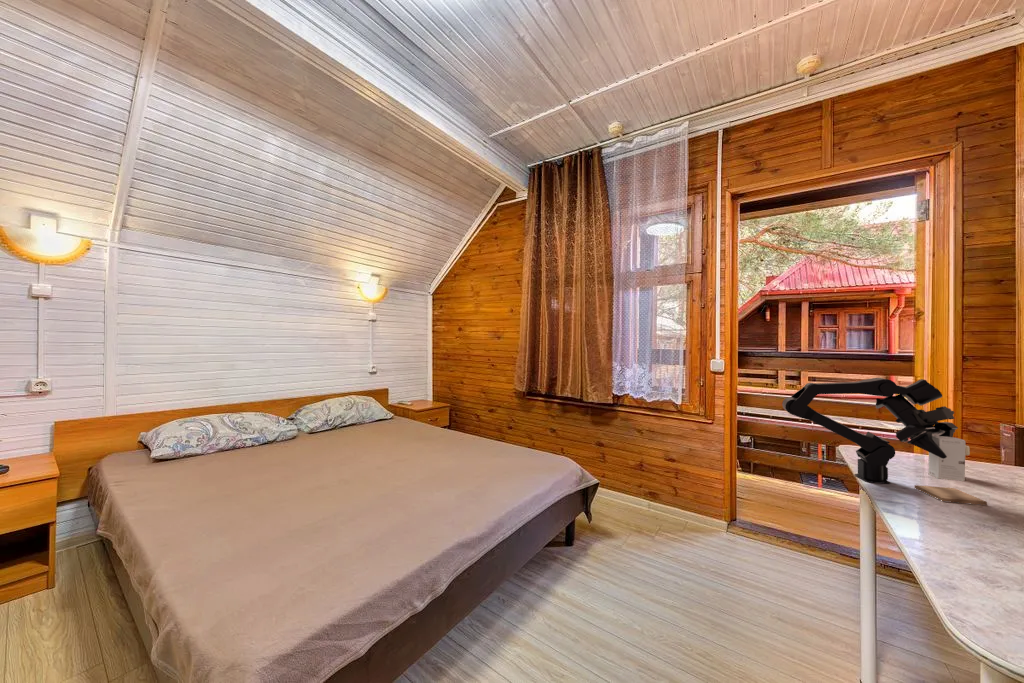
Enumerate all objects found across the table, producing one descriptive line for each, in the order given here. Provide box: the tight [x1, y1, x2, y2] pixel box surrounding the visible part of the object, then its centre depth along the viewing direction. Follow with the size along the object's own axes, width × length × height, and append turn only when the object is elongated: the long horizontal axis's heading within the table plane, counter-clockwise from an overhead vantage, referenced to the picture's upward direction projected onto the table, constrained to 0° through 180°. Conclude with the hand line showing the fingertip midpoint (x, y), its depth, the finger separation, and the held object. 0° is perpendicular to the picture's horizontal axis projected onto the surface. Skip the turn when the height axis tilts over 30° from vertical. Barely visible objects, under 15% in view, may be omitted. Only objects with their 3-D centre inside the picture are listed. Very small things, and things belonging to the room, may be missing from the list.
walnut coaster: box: [914, 484, 988, 506], centre depth 111 cm, size 10×10×1 cm
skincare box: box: [928, 435, 967, 482], centre depth 110 cm, size 6×4×12 cm
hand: (953, 456), depth 109 cm, fingers closed on skincare box, 7 cm apart
